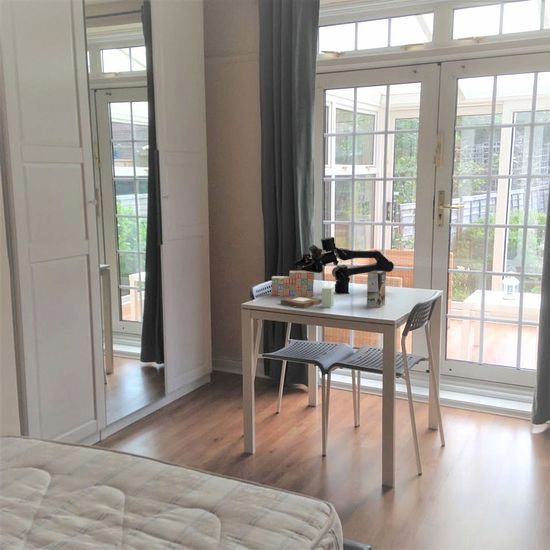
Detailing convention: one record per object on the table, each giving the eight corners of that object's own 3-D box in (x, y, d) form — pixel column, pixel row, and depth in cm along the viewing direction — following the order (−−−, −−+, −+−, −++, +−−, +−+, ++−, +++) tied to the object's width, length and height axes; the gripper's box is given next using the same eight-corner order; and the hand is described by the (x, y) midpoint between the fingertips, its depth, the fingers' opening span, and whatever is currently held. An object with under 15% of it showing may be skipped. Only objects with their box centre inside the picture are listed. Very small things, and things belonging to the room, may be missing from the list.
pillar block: (324, 305, 291) (324, 286, 289) (333, 305, 289) (333, 287, 288) (321, 307, 286) (322, 288, 285) (331, 307, 285) (331, 288, 283)
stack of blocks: (271, 296, 313) (271, 272, 311) (272, 293, 319) (272, 270, 317) (313, 296, 311) (313, 272, 309) (313, 294, 318) (313, 270, 315)
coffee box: (379, 308, 284) (380, 273, 281) (366, 306, 287) (367, 272, 284) (385, 304, 292) (386, 270, 289) (372, 303, 295) (373, 269, 292)
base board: (299, 299, 304) (299, 295, 303) (321, 303, 295) (321, 298, 294) (280, 304, 293) (280, 299, 293) (303, 308, 284) (303, 303, 284)
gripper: (315, 239, 320) (288, 247, 315) (330, 248, 303) (302, 256, 298) (318, 259, 323) (291, 267, 319) (333, 269, 307) (305, 277, 302)
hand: (297, 266), depth 310 cm, fingers open, 9 cm apart
